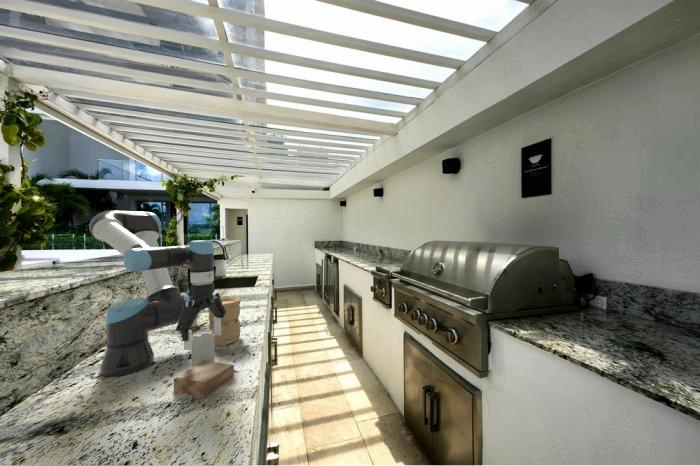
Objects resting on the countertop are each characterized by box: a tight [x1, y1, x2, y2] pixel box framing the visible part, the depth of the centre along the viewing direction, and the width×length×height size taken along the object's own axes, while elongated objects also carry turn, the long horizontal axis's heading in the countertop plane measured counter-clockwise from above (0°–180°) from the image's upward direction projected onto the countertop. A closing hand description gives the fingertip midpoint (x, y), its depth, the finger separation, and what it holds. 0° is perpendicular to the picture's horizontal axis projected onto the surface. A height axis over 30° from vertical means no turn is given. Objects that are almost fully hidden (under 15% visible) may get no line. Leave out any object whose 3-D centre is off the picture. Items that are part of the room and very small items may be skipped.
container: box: [208, 296, 241, 348], centre depth 121 cm, size 13×13×18 cm
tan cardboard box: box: [173, 360, 235, 399], centre depth 87 cm, size 12×12×4 cm
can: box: [190, 329, 216, 368], centre depth 99 cm, size 8×8×12 cm
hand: (203, 341), depth 99 cm, fingers open, 13 cm apart
